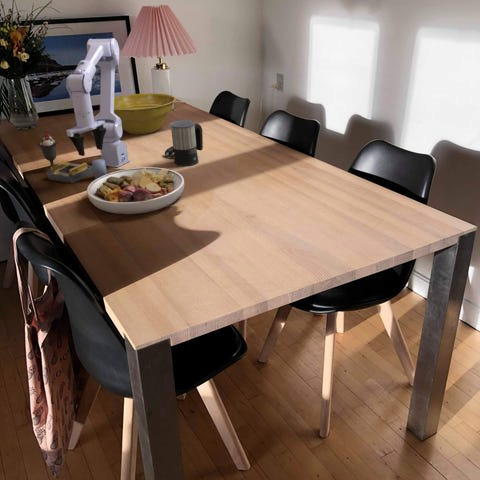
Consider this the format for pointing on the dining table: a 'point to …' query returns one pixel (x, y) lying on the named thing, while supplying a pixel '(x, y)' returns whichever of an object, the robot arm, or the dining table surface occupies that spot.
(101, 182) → the bowl
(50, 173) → the grey square frame
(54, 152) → the sundae
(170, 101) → the planter bowl
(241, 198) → the dining table surface
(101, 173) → the blue-grey rounded cylinder
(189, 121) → the milk frother
